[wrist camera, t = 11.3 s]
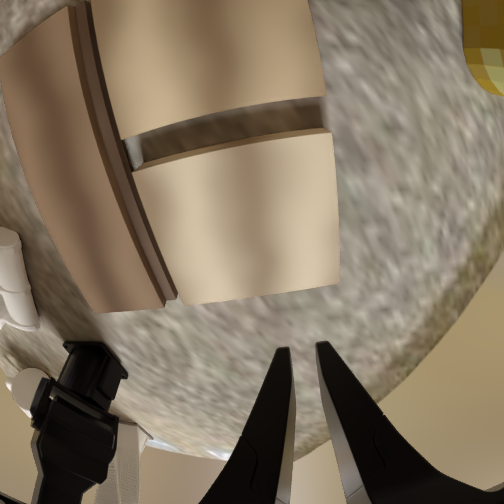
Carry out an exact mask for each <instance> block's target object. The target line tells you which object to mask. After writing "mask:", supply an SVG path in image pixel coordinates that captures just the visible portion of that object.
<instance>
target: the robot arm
mask: <svg viewBox="0 0 504 504" xmlns="http://www.w3.org/2000/svg"><path fill="white" fill-rule="evenodd" d="M63 347H64V348H65V349H66V350H67V352H68V353H69V356H68V358H67V360H66V362H65V365H64V367H63V369H62V371H61V373H60V376H59V378H58V380H57V381H55V379H54V378H52V377H51V378H50V379H48V378H45V377H42V378H41V380H40V383H39V385H38V387H37V389H36V392H35V395H34V397H33V400H32V403H31V406H30V409H29V411H30V413H31V416H32V417H31V420H32V421H31V427H33V428H34V429H35V430H34V434H33V437H32V440H31V448H32V452H33V456H34V460H35V463H36V466H37V470H38V476H37V480H36V484H35V488H34V492H33V497H32V502H31V504H81V500H82V496H83V493H85V492H86V491H87V490H88V489H90V488H91V487H92V486H94V485H95V484H96V483H97V484H102V483H103V482H104V481H105V480H106V479H107V474H108V467H109V464H110V463H111V462H112V460H113V458H114V456H115V453H116V449H117V437H118V424H119V417H118V416H116V415H112V414H110V413H109V412H108V411H109V407H110V404H111V401H112V400H114V399H115V396H116V393H117V390H118V386H119V383H120V380H121V379H128V374H127V373H126V372H125V371H124V369H123V368H122V367H121V366H120V365H119V363H118V362H117V361H116V360H115V358H114V357H113V356H112V355H111V353H110V352H109V351H108V350H107V348H106V347H105V346H104V345H103V344H102V343H99V342H64V343H63ZM315 347H316V363H317V370H318V377H319V385H320V393H321V400H322V404H323V408H324V412H325V416H326V420H327V424H328V428H329V432H330V436H331V440H332V444H333V448H334V451H335V456H336V460H337V464H338V468H339V472H340V476H341V481H342V485H343V489H344V494H345V498H346V502H347V504H504V482H503V483H501V484H499V485H496V486H494V487H492V488H490V489H487V490H485V491H483V490H481V489H478V488H475V487H473V486H470V485H468V484H465V483H463V482H461V481H458V480H456V479H454V478H451V477H449V476H447V475H445V474H443V473H441V472H440V471H438V470H437V469H435V468H434V467H433V466H432V465H431V464H430V463H429V462H428V461H427V460H426V459H425V458H424V457H422V455H420V453H418V452H417V451H416V450H415V449H414V448H413V447H412V446H411V445H410V444H409V443H408V442H407V441H406V440H405V439H404V437H402V435H401V434H400V433H399V432H398V431H397V430H396V428H395V427H394V426H393V425H392V424H391V422H390V421H389V420H388V418H387V417H386V416H385V415H383V412H382V411H381V409H380V408H379V407H378V405H377V404H376V403H375V401H374V400H373V399H372V397H371V396H370V395H369V394H368V392H367V391H366V390H365V388H364V387H363V386H362V384H361V383H360V382H359V380H358V379H357V378H356V377H355V375H354V374H353V373H352V371H351V370H350V369H349V367H348V366H347V365H346V364H345V362H344V361H343V360H342V358H341V357H340V356H339V354H338V353H337V352H336V351H335V349H334V348H333V347H332V345H331V344H330V343H329V342H328V341H320V342H316V344H315ZM49 396H51V397H53V400H52V399H51V398H49ZM295 421H296V397H295V387H294V377H293V368H292V360H291V353H290V348H289V347H279V348H277V349H276V352H275V354H274V357H273V359H272V362H271V364H270V367H269V369H268V372H267V375H266V377H265V379H264V382H263V384H262V387H261V389H260V392H259V394H258V396H257V399H256V401H255V404H254V406H253V408H252V411H251V413H250V415H249V418H248V420H247V422H246V425H245V427H244V429H243V431H242V436H240V438H239V440H238V442H237V444H236V446H235V448H234V450H233V452H232V454H231V456H230V458H229V460H228V462H227V463H226V465H225V466H224V468H223V470H222V471H221V473H220V474H219V476H218V477H217V479H216V480H215V482H214V483H213V484H212V486H211V488H210V489H209V490H208V492H207V493H206V494H205V496H204V497H203V498H202V500H201V501H200V502H199V503H198V504H289V503H290V493H291V481H292V469H293V455H294V440H295ZM0 504H26V503H23V502H21V501H19V500H17V499H15V498H12V497H10V496H8V495H6V494H4V493H2V492H0Z"/></svg>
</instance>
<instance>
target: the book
mask: <svg viewBox="0 0 504 504" xmlns="http://www.w3.org/2000/svg"><path fill="white" fill-rule="evenodd" d="M462 11H463V50H464V54H465V58H466V62H467V65H468V67H469V69H470V71H471V73H472V75H473V77H474V79H475V80H476V81H477V82H478V83H479V85H480V86H481V87H482V88H483V89H485V90H486V91H488V92H490V93H492V94H495V95H500V96H504V0H462Z"/></svg>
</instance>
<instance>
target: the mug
mask: <svg viewBox="0 0 504 504" xmlns="http://www.w3.org/2000/svg"><path fill="white" fill-rule="evenodd" d="M42 377H45V378H48V379H50V378H49V377H48V376H47V374H46V373H44V372H43V371H41V370H39V369H37V368H27V369H24V370H22V371H20V372H19V373H18V374H17V375H16V376H15V378H11V377H6V378H5V384H6V386H7V387H8V389H9V390H11V392H12V396H13V399H14V401H15V403H16V404H17V405H18V406H19V407H20V408H21V409H22V410H23V411H24V412H25V414H26V415H27V416H28V417H29V418H30V419H31V417H32V416H31V413H30V411H29V409H30V406H31V403H32V400H33V397H34V395H35V392H36V389H37V387H38V385H39V383H40V380H41V378H42ZM49 398H51V399H52V400H53V397H51V396H49Z"/></svg>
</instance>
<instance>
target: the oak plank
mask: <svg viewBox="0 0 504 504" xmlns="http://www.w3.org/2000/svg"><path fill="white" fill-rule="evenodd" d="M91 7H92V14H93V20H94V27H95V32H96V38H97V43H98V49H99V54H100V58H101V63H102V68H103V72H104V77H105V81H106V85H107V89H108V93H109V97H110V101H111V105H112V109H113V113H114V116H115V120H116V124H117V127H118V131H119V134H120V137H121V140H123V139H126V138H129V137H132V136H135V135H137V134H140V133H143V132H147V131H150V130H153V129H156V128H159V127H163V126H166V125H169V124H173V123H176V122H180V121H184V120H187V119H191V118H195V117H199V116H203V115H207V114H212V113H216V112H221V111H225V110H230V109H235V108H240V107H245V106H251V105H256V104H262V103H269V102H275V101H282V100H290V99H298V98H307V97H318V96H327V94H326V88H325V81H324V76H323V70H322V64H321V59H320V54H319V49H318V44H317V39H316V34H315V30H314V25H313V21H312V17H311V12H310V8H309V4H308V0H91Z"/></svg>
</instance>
